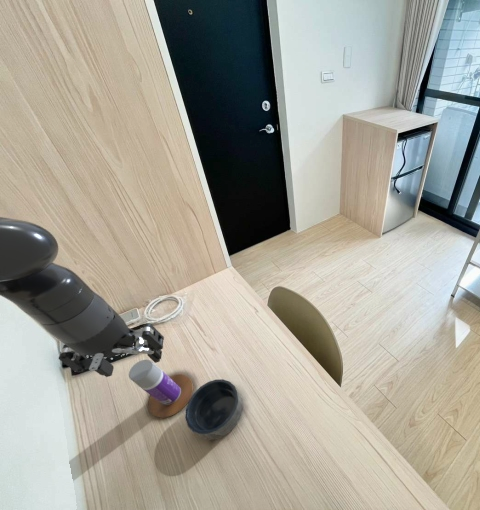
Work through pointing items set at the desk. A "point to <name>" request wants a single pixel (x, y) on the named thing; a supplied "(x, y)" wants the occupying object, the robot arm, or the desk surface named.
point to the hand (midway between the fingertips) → (135, 364)
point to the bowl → (214, 409)
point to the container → (155, 382)
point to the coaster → (169, 410)
